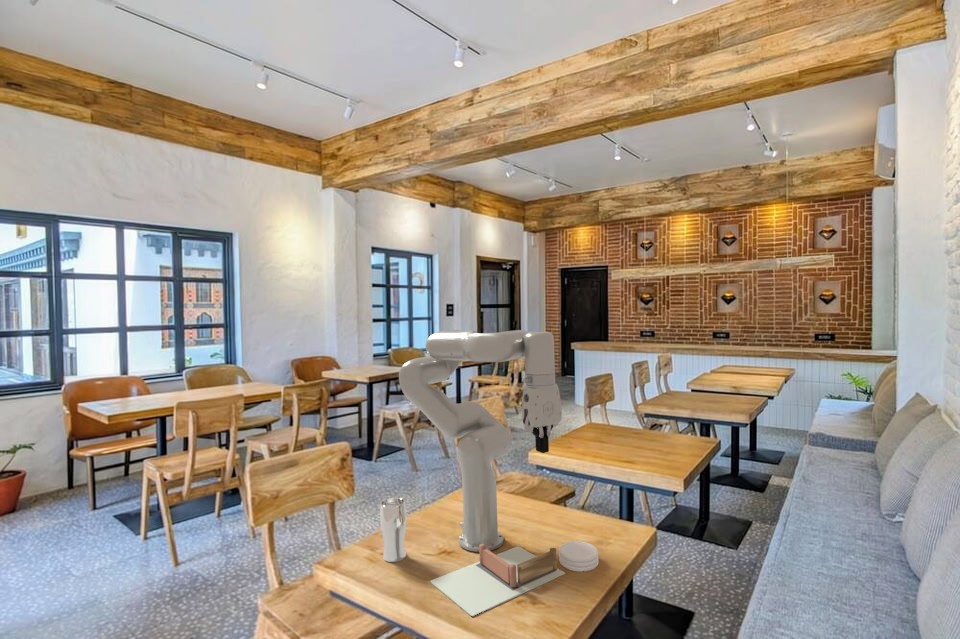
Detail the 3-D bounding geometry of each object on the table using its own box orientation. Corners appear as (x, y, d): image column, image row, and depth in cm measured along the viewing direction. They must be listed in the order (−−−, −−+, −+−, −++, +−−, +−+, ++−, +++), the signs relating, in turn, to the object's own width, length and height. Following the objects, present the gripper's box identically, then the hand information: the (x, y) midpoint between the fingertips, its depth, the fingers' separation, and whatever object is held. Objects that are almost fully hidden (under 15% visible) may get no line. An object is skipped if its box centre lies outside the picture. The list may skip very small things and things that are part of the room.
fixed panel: (517, 583, 124) (516, 562, 124) (553, 566, 131) (553, 547, 131) (521, 586, 123) (520, 565, 123) (558, 569, 130) (557, 549, 130)
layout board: (429, 582, 127) (429, 580, 127) (518, 547, 143) (518, 545, 143) (472, 617, 112) (472, 615, 112) (564, 573, 128) (564, 572, 128)
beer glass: (412, 553, 142) (410, 499, 141) (398, 565, 135) (396, 508, 135) (391, 548, 144) (389, 495, 144) (376, 560, 138) (374, 505, 138)
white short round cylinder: (552, 558, 137) (551, 545, 137) (584, 550, 141) (584, 537, 140) (572, 576, 128) (572, 562, 127) (606, 567, 131) (606, 553, 131)
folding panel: (518, 585, 122) (517, 566, 122) (512, 587, 122) (512, 568, 121) (483, 560, 135) (483, 543, 134) (478, 562, 134) (478, 544, 134)
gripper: (527, 385, 125) (529, 460, 126) (571, 378, 134) (573, 448, 134) (508, 382, 131) (510, 454, 132) (551, 375, 140) (553, 443, 140)
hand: (542, 451), depth 133 cm, fingers closed
